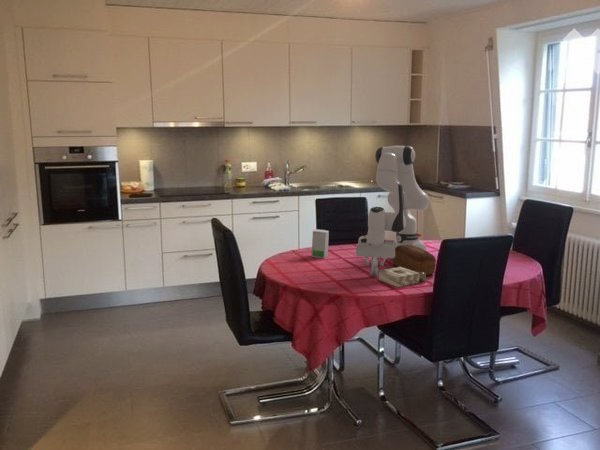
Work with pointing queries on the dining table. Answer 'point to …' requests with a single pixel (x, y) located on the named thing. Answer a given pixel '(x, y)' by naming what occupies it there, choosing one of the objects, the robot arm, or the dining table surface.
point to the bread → (414, 259)
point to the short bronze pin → (422, 277)
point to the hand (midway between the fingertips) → (374, 265)
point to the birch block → (398, 276)
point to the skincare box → (320, 243)
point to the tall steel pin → (374, 266)
